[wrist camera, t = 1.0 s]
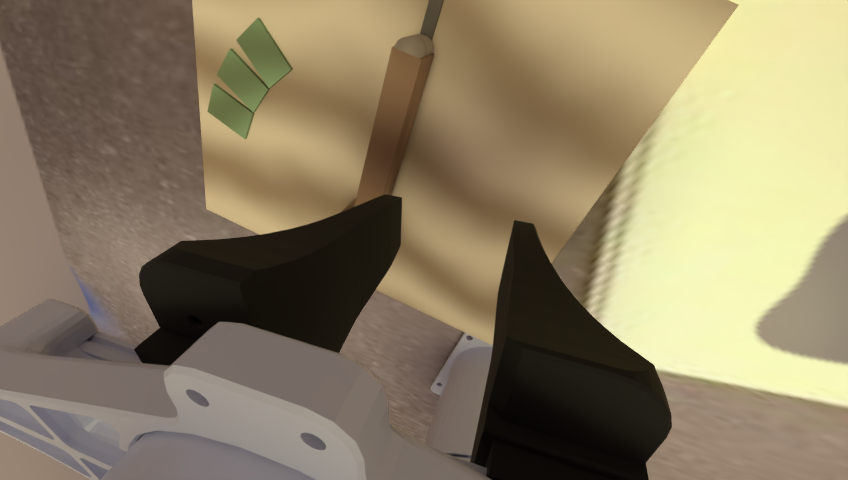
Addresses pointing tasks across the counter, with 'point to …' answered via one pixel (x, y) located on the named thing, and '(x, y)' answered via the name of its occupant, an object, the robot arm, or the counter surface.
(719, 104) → the counter surface
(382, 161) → the tuning peg
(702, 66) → the counter surface
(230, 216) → the dial board
